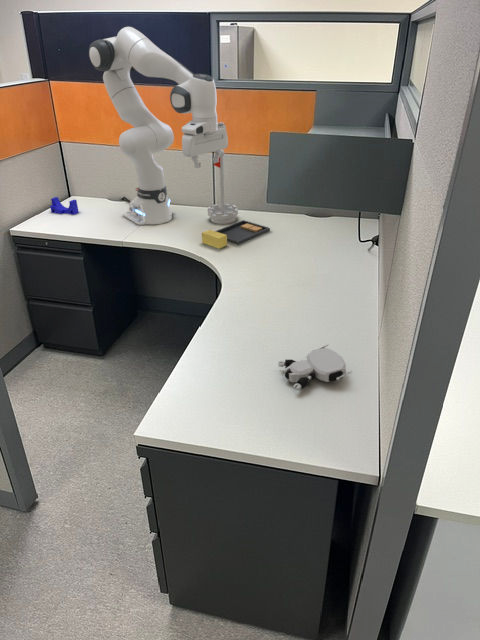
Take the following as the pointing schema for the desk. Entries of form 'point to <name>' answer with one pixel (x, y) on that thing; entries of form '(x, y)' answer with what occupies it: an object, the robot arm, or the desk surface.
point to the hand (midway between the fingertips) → (206, 165)
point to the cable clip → (60, 209)
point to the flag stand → (222, 202)
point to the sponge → (214, 239)
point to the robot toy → (315, 367)
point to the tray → (241, 232)
